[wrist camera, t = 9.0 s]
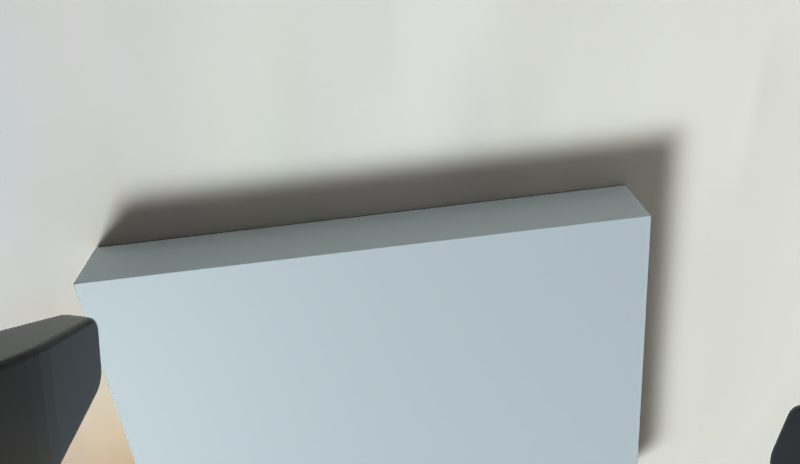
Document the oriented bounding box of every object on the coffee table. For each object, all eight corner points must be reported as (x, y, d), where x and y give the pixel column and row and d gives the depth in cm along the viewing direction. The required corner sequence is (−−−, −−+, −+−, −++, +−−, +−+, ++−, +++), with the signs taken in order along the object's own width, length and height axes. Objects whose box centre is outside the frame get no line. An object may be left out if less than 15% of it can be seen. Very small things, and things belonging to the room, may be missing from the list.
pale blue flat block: (186, 526, 26) (174, 575, 25) (96, 247, 21) (73, 284, 20) (615, 474, 27) (634, 519, 25) (626, 184, 22) (651, 216, 20)
